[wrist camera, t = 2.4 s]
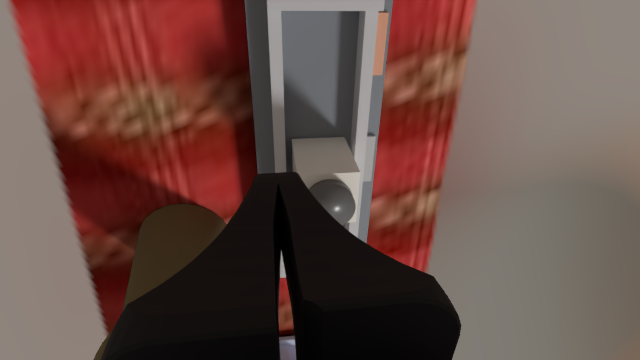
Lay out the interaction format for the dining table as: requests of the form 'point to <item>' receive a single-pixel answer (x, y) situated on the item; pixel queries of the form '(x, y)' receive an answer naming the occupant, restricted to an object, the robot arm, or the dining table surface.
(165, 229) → the brown tall tapered piece
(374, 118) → the board
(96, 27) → the dining table surface
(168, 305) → the robot arm
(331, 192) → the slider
